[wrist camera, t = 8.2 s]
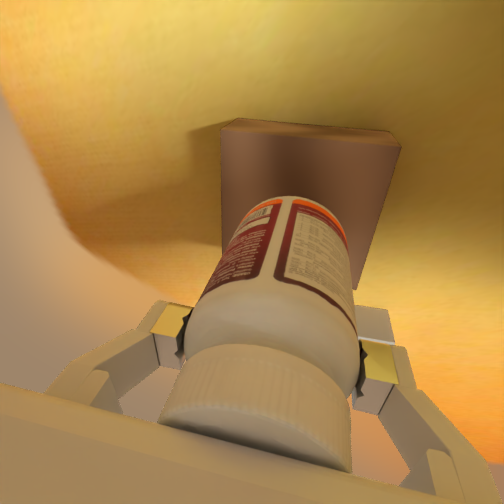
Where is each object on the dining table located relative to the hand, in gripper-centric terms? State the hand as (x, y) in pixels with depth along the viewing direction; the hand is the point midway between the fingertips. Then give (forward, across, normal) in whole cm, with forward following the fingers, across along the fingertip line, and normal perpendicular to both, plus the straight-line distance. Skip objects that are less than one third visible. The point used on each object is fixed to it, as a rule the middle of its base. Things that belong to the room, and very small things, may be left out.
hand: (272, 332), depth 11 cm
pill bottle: (+7, 0, 0) cm, 7 cm away
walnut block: (+14, 0, 0) cm, 14 cm away
